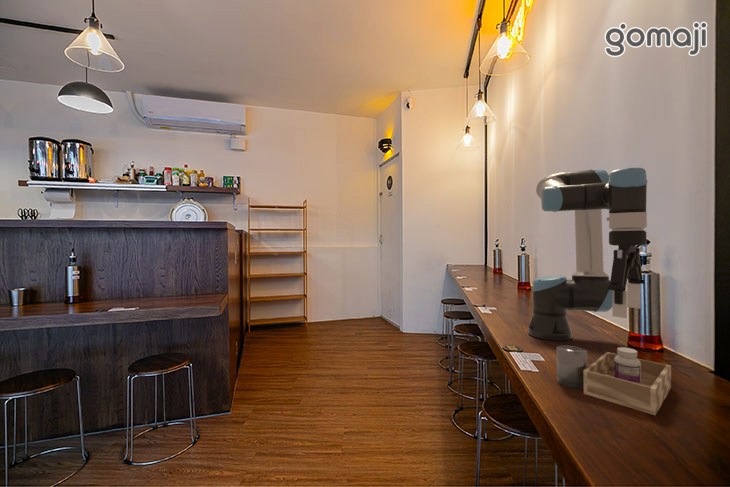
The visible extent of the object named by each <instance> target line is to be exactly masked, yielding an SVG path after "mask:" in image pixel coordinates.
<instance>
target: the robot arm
mask: <svg viewBox="0 0 730 487" xmlns="http://www.w3.org/2000/svg"><path fill="white" fill-rule="evenodd" d="M536 185H537V186H536V195H537V197H538V198H539V199H540V202H541V203H540V205H541V209H542V210H543V212H553V213H556V212H564V211H565V212H566V211H567V212H569V211H574V230H575V232H574V234H575V260H576V261H575V263H576V264H575V266H576V267H575V268H576V269H575V272H574V273H572V274H571V279H567V276H565V275H547V276H545V275H544V276H540V277H536V278H534V279H533V281H532V289H531V291H532V315H531V319H530V321H529V324H528V327H527V329H528V330H527V331H528V332H527V333H528V335H530V336H532V337H534V338H537V339H542V340H547V341H555V342H556V341H559V342H560V341H561V342H562V341H569V340H571V339H573V331H572V328H571V325H570V323H569V320H568V317H567V311H580V312H594V313H597V312H600V313H601V312H602V313H608V312H609V311H610V310H611V309H612V310H611V311H612V317H614V318H615V317H616V318H622V319H627V318H628V308H631V309H641V306H642V304H641V300H642V299H641V294H642V293H641V291H642V290H641V285H644V284H645V279H644V277H643V271H642V263H641V255H640V250H641V249H640V247H638V246H646V244H647V231H646V230H644V229H646V228H647V227H648V224H647V223H648V220H647V218H648V217H647V216H648V215H647V214H648V213H647V189H648V188H647V187H648V186H647V185H648V179H647V171H646V169H645V168H643V167H626V168H620V169H615V170H612V171H610V173H608V172H607V171H606V170H604V169H602V168H601V169H593V168H591V169H585V170H576V171H575V170H573V171H564V172H563V171H561V172H557V173H553V174H550V175H547V176H545V177H543V178H542V179H541V180H540V181H539V182H538V183H537V184H536ZM602 210H608V217H607V218H606V221H607V222H609V223H608V228H609V229H610V231H609V232H608V244H609V245H611V246H618V248H617V249H614V250H613V252H612V253H613V259H612V268H611V275H610V276H609V275H608V274H607V273H606V272H605V271H604V270H605V268H604V247H603V246H604V242H603V221H602V220H603V219H602V218H603V216H602V213H603V212H602ZM636 246H637V247H636Z"/></svg>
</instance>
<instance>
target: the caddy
mask: <svg viewBox="0 0 730 487" xmlns="http://www.w3.org/2000/svg"><path fill="white" fill-rule="evenodd" d="M617 355H618V353H615V352H609V351H607V352H605V353H604V354H602V355H601V356H600V357H598V358H597V359H596V360H595V361H594V362H593V363H591V364H589V366H587V368H586V369H585V370H584V388H583V394H584V395H587V396H591V397H594V398H596V399H600V400H603V401H607V402H610V403H613V404H616V405H620V406H623V407H627V408H628V409H629V408H630V409H633V410H636V411H639V412H642V413H647V414H649V415H651V416H652V415H653V416H656V415H657V413H658V412H659V410H660V409H661V407H662V405H663V403H664V401H665V399H666V398H667V396H668V394H669V393H670V390H671V389H672V365H670V364H665V363H661V362H656V361H652V360H648V359H647V360H646V359H642V358H637V359H638V360H639V361H640V362H641V384H638V383H634V382H630V381H627V380H623V379H619V378H615V377H614V358H615V356H617Z"/></svg>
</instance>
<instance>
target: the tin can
mask: <svg viewBox="0 0 730 487" xmlns="http://www.w3.org/2000/svg"><path fill="white" fill-rule="evenodd" d="M587 367H588V350H587V349H585V348H582V347H579V346H575V345H568V344H567V345H566V344H562V345H561V344H560V345H558V346H556V381H557V382H558V384H560V385H562V386H563V387H564V386H565V387H567V388H571V389H584V370H585V369H586V368H587Z"/></svg>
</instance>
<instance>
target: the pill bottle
mask: <svg viewBox="0 0 730 487" xmlns="http://www.w3.org/2000/svg"><path fill="white" fill-rule="evenodd" d="M616 354H618V355H617V356H615V358H614V377H615V378H619V379H623V380H627V381H630V382H634V383H638V384H641V362H640V361H639V360H638V359H639V358H638V359H637V357H638V350H636V349H634V348H631V347H617V350H616Z"/></svg>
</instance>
